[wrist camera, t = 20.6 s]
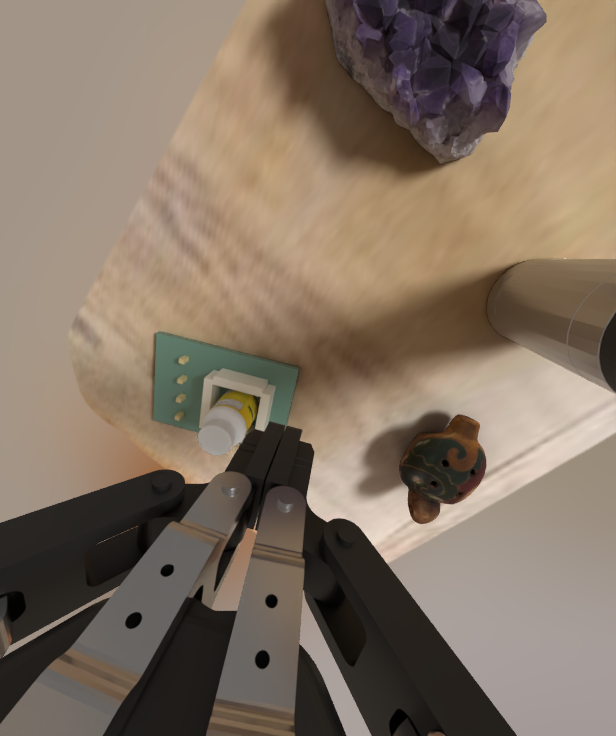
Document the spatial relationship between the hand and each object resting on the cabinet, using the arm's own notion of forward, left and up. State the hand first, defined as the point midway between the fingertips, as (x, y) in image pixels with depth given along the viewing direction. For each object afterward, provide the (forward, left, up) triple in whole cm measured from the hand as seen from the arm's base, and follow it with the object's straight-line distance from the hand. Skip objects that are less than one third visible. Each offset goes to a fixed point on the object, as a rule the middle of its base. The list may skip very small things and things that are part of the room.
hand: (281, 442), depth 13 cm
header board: (+12, +14, -27) cm, 33 cm away
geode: (-2, -26, -27) cm, 38 cm away
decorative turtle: (-19, +14, -27) cm, 36 cm away
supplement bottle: (+9, +14, -26) cm, 31 cm away
